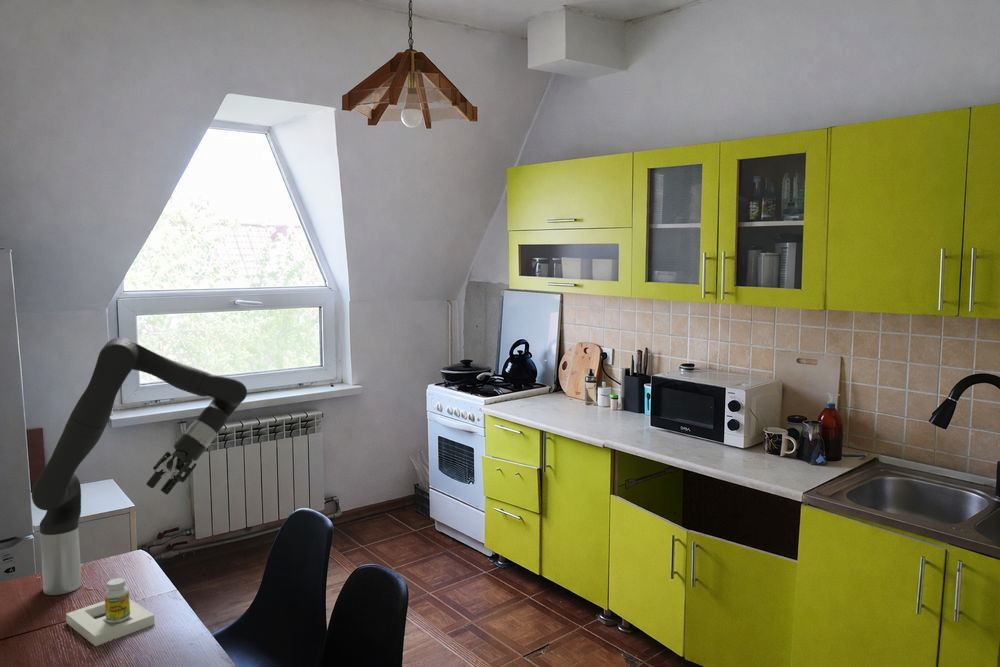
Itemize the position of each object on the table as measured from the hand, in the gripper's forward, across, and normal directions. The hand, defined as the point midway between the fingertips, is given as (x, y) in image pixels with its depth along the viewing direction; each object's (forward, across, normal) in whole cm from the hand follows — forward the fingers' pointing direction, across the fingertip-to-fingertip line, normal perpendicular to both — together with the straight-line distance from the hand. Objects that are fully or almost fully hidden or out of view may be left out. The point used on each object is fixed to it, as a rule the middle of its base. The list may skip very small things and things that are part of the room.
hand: (156, 489), depth 193 cm
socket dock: (+32, +4, +11) cm, 34 cm away
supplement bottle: (+30, +8, +10) cm, 33 cm away
